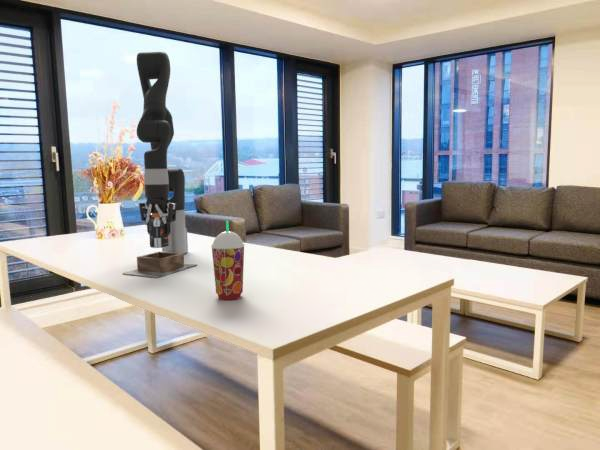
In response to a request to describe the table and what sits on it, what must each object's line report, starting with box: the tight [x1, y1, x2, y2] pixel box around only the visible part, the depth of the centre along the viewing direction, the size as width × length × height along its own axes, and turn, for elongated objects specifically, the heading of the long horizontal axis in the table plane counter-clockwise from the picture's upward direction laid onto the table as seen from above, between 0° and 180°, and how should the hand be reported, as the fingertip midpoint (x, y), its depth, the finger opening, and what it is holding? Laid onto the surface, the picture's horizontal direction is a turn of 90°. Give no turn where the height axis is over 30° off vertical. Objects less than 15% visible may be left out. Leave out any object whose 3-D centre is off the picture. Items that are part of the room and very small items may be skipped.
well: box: [122, 251, 198, 279], centre depth 160 cm, size 20×14×5 cm
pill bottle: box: [148, 213, 169, 249], centre depth 159 cm, size 6×6×11 cm
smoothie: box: [210, 220, 246, 301], centre depth 124 cm, size 8×8×20 cm
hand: (159, 234), depth 159 cm, fingers closed on pill bottle, 6 cm apart
